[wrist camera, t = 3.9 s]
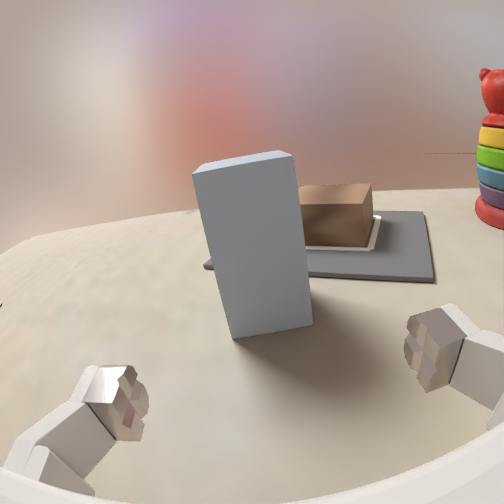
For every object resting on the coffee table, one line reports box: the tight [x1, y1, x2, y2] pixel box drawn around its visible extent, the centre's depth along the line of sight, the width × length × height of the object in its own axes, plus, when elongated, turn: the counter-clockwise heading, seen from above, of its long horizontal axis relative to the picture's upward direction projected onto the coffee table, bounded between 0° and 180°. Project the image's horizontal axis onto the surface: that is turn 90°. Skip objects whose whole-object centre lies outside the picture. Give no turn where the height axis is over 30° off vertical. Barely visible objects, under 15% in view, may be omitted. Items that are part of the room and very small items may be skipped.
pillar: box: [192, 150, 313, 339], centre depth 18 cm, size 5×5×10 cm
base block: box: [298, 184, 373, 247], centre depth 30 cm, size 8×8×4 cm
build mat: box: [203, 211, 433, 282], centre depth 30 cm, size 20×16×1 cm
